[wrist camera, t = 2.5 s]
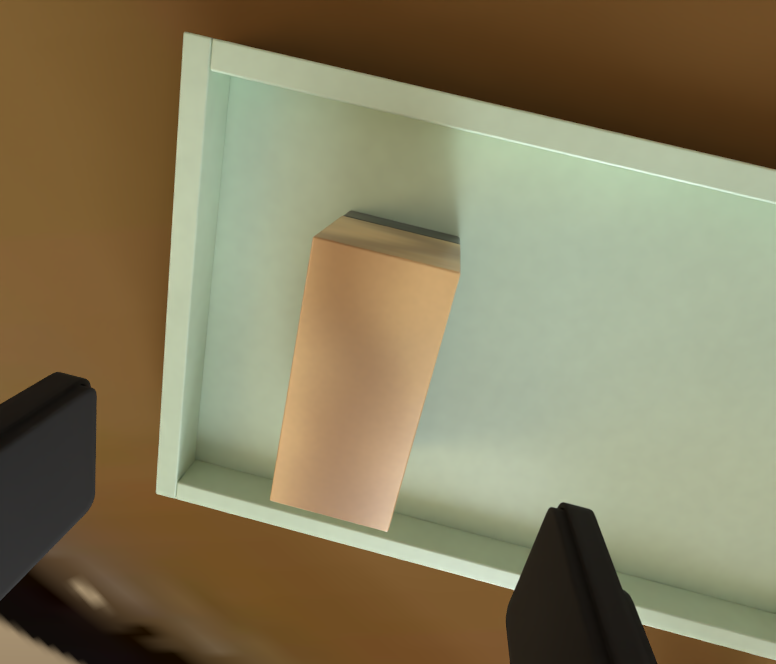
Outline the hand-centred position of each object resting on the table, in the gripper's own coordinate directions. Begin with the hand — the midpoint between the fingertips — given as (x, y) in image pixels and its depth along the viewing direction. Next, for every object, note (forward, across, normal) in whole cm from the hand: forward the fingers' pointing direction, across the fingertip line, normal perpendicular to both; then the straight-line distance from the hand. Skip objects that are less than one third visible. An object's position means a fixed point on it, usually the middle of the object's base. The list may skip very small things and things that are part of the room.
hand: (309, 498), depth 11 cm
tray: (+9, -6, 0) cm, 11 cm away
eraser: (+8, 0, 0) cm, 8 cm away
